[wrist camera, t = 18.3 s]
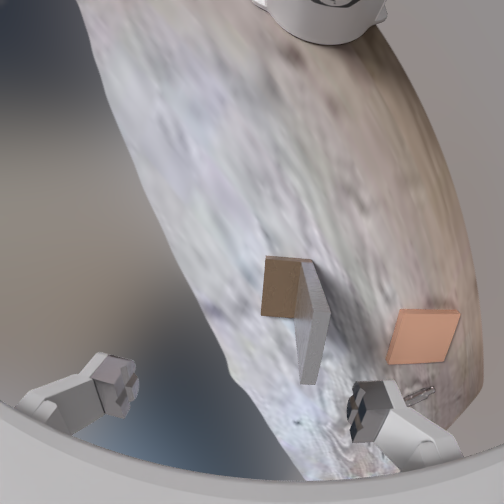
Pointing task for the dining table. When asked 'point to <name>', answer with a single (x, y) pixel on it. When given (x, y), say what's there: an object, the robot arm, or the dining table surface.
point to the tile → (422, 336)
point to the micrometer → (418, 396)
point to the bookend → (298, 308)
